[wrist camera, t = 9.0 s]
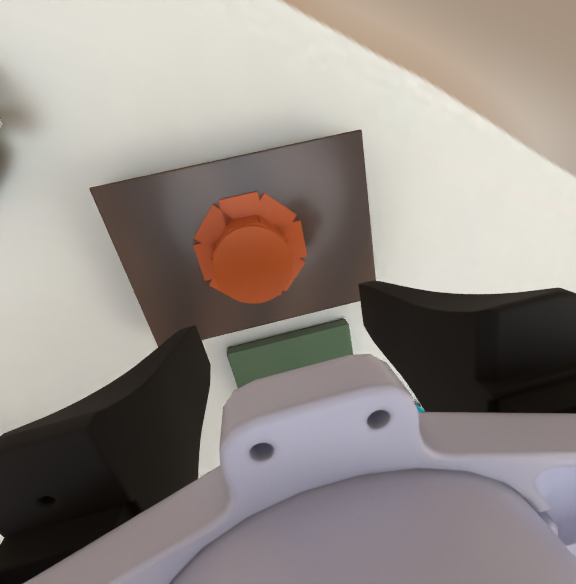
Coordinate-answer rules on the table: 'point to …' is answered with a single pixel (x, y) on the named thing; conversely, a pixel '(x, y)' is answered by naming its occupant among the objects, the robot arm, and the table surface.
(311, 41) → the table surface
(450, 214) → the table surface
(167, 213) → the stand
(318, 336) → the stand
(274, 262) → the hat
